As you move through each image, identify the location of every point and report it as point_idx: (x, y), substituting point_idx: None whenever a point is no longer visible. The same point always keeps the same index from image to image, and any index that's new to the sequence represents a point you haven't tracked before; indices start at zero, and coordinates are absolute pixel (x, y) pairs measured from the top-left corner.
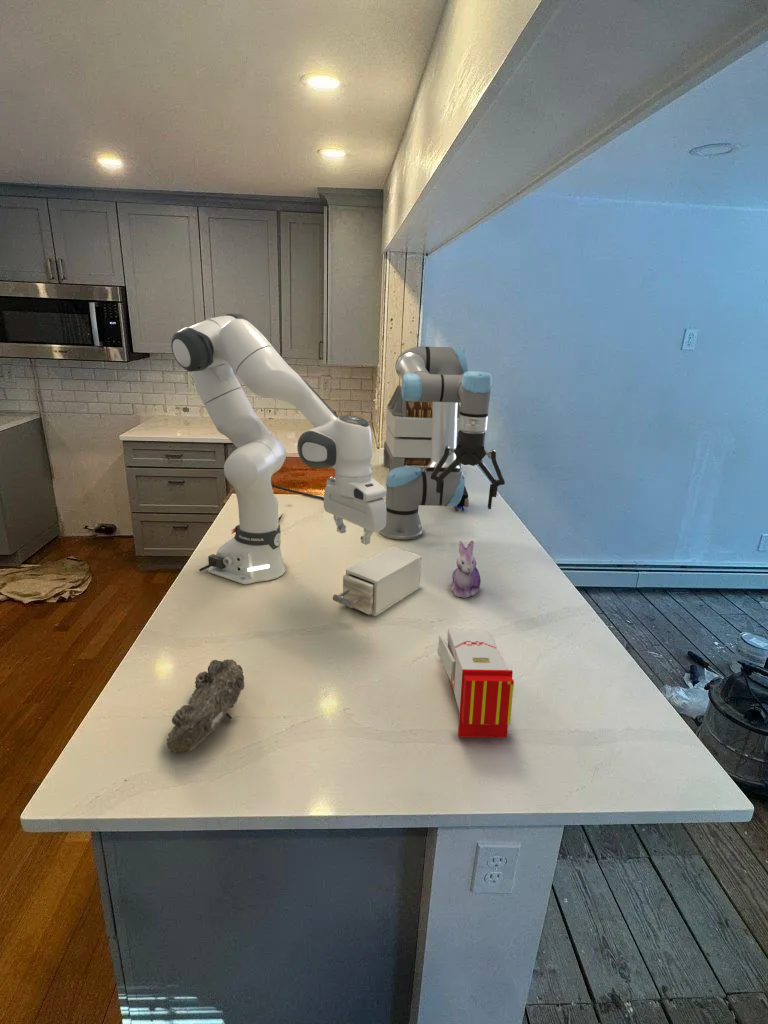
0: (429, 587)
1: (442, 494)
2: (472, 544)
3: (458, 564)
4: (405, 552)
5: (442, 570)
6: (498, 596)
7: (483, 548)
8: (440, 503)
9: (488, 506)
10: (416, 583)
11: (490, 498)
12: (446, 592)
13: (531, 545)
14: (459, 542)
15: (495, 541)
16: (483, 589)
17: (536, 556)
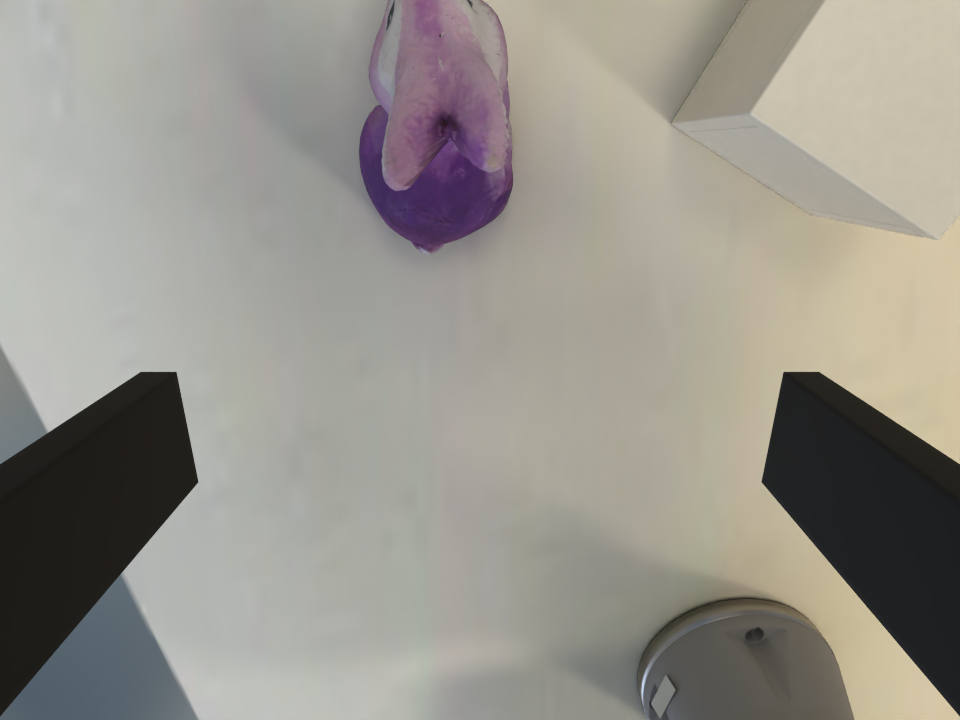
0: (619, 144)
1: (887, 444)
2: (392, 125)
3: (494, 12)
4: (861, 149)
5: (551, 345)
6: (275, 118)
7: (369, 594)
8: (815, 382)
9: (157, 387)
10: (705, 86)
11: (58, 442)
12: (534, 105)
13: (169, 657)
14: (502, 134)
15: (321, 664)
16: (352, 181)
17: (138, 565)
